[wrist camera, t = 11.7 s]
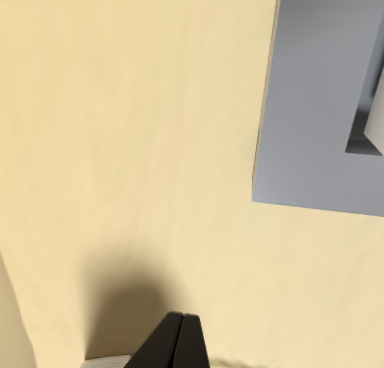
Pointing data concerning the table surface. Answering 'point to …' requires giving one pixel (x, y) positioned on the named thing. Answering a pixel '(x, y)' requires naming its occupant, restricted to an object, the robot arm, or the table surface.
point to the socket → (321, 108)
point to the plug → (377, 118)
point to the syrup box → (107, 362)
